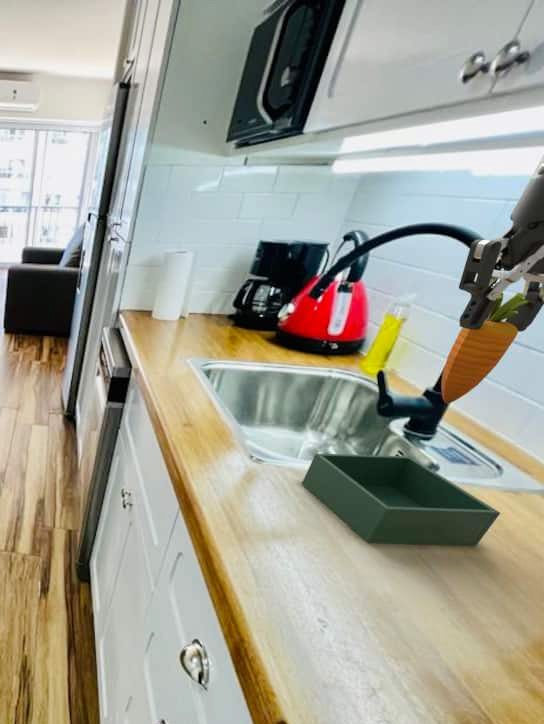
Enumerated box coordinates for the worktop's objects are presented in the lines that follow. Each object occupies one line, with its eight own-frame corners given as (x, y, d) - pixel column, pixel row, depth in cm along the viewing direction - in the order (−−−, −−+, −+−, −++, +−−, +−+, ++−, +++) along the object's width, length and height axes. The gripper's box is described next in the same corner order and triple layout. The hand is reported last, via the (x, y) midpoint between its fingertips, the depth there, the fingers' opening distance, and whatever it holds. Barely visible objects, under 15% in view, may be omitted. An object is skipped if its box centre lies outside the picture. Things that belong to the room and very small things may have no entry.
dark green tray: (392, 486, 76) (409, 456, 73) (475, 546, 63) (501, 512, 61) (301, 483, 76) (315, 453, 73) (367, 542, 64) (387, 508, 61)
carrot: (424, 393, 69) (484, 285, 62) (471, 403, 66) (541, 292, 59) (421, 402, 66) (483, 290, 59) (470, 413, 63) (543, 297, 56)
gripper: (551, 173, 50) (459, 335, 58) (693, 178, 49) (580, 340, 58) (483, 174, 56) (409, 319, 65) (608, 178, 56) (518, 323, 64)
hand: (490, 328), depth 61 cm, fingers closed on carrot, 5 cm apart
